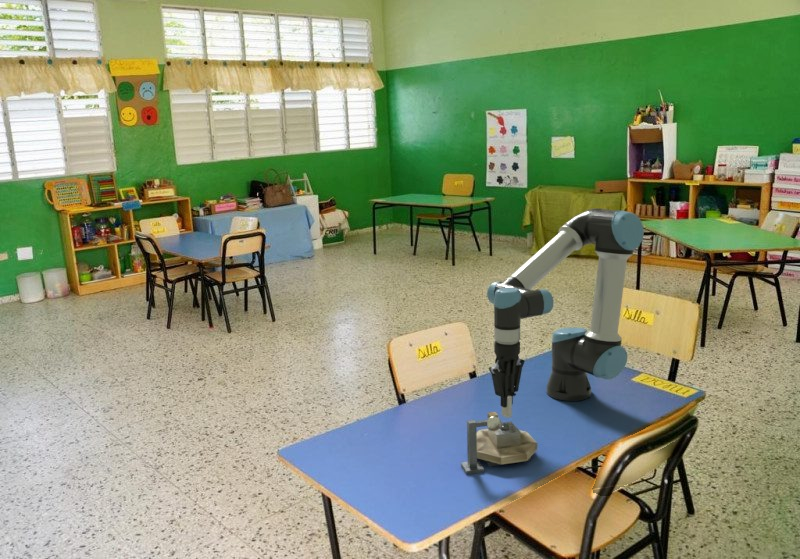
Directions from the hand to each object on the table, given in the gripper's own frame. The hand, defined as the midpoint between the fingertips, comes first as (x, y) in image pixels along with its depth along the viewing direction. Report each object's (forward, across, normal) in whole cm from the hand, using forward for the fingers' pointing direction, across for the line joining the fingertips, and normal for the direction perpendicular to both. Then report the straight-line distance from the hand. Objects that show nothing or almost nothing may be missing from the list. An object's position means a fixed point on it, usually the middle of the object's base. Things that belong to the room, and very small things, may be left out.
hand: (506, 415), depth 201 cm
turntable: (+5, +9, +7) cm, 13 cm away
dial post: (+7, +19, +9) cm, 22 cm away
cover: (+3, +9, +8) cm, 12 cm away
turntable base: (+7, +9, +7) cm, 14 cm away
